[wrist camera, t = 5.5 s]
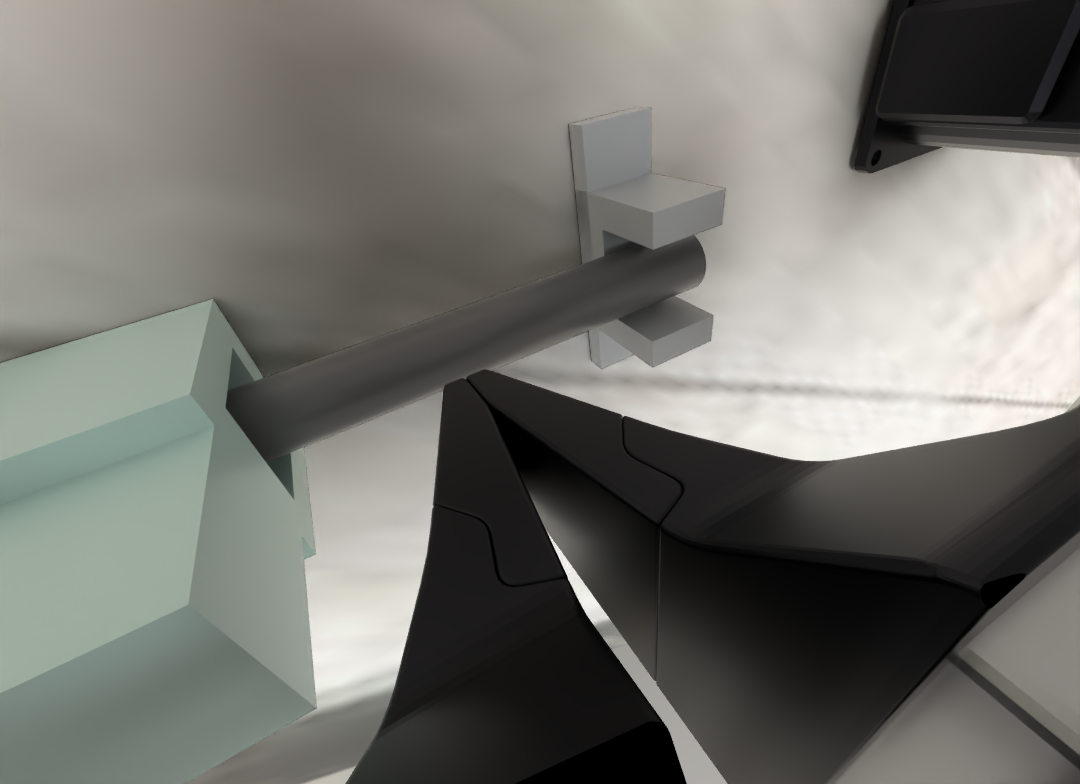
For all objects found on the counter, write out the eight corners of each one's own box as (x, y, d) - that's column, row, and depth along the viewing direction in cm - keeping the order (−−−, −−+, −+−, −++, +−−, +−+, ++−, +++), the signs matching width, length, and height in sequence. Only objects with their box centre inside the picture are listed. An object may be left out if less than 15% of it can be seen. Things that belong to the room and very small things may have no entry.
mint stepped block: (212, 298, 9) (146, 570, 4) (302, 438, 12) (335, 723, 6) (-26, 370, 8) (-557, 881, 3) (128, 508, 11) (-7, 926, 5)
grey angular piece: (636, 106, 12) (783, 112, 8) (640, 340, 16) (738, 404, 13) (-447, 379, 6) (-1205, 688, 3) (-7, 619, 11) (-128, 855, 7)
